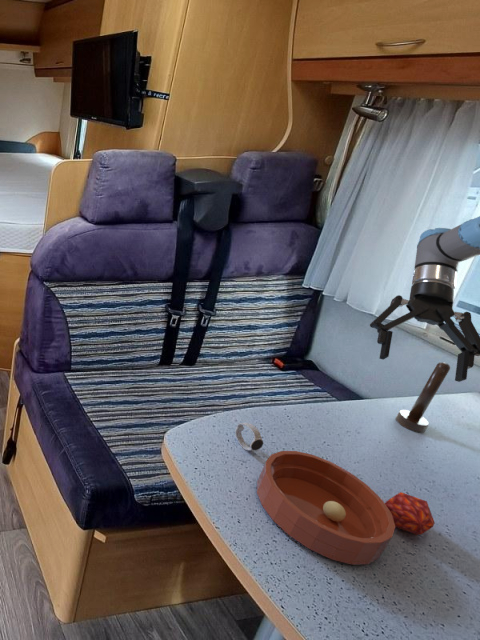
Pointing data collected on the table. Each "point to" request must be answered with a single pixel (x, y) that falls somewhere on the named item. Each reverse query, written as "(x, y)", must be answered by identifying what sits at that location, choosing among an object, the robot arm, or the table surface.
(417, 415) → the wooden handled stamp
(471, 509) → the table surface
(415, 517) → the decorative stone
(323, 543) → the bowl
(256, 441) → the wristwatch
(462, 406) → the table surface
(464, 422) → the table surface
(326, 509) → the dough ball
